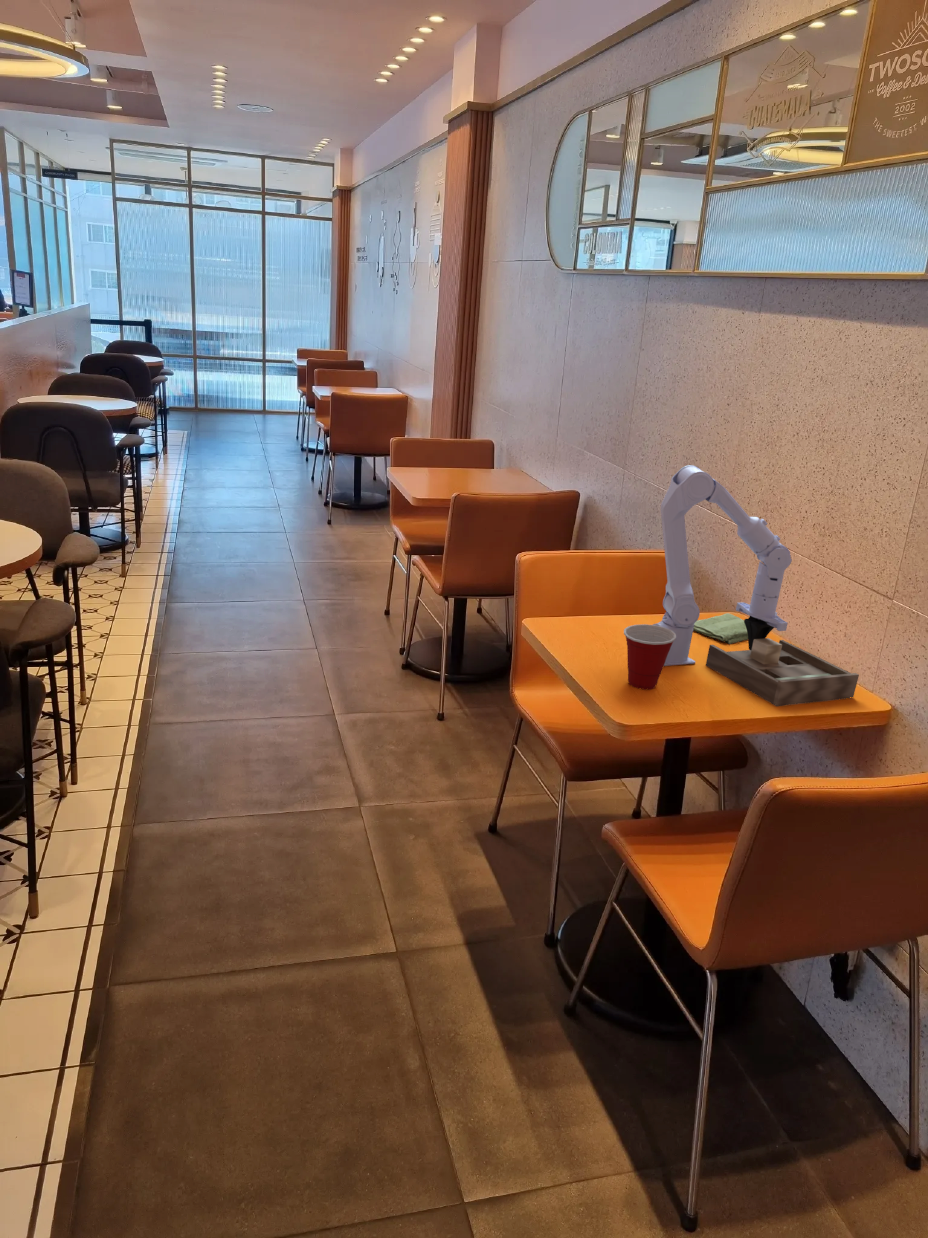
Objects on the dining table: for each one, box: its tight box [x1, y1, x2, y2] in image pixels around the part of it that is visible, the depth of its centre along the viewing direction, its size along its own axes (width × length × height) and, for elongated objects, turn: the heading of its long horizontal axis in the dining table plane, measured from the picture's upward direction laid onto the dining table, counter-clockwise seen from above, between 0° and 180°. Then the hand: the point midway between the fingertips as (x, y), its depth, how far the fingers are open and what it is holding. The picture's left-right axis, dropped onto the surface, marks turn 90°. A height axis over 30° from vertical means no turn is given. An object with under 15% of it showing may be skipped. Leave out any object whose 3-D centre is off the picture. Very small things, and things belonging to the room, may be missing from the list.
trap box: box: [705, 639, 860, 707], centre depth 200 cm, size 22×23×6 cm
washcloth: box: [693, 612, 748, 645], centre depth 231 cm, size 13×18×3 cm
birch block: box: [750, 637, 782, 664], centre depth 204 cm, size 4×4×4 cm
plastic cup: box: [623, 623, 676, 691], centre depth 189 cm, size 11×11×12 cm
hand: (753, 650), depth 207 cm, fingers closed
